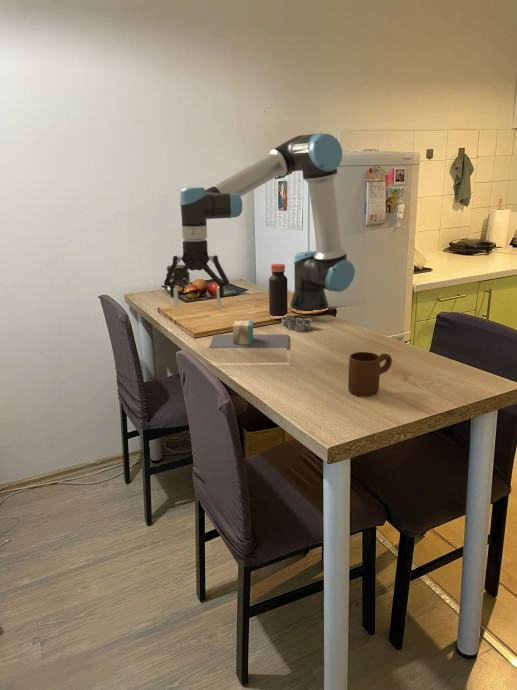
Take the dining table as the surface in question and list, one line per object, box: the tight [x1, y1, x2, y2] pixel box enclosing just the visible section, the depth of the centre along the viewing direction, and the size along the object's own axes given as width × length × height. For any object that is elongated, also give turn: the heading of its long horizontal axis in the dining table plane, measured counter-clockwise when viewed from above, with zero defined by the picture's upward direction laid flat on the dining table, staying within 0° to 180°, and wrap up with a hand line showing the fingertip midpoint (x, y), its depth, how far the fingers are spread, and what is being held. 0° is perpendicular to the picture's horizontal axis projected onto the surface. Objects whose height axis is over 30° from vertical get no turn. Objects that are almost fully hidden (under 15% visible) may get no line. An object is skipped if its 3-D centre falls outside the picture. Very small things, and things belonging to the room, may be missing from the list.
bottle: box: [268, 263, 289, 316], centre depth 201 cm, size 7×7×20 cm
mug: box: [347, 351, 393, 397], centre depth 136 cm, size 12×8×9 cm, turn 115°
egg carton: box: [280, 316, 313, 333], centre depth 191 cm, size 11×8×4 cm
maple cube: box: [232, 320, 254, 344], centre depth 175 cm, size 6×6×6 cm
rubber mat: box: [208, 333, 289, 351], centre depth 176 cm, size 25×14×1 cm, turn 87°
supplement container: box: [166, 264, 191, 295], centre depth 247 cm, size 10×10×12 cm
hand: (197, 307), depth 173 cm, fingers open, 13 cm apart
